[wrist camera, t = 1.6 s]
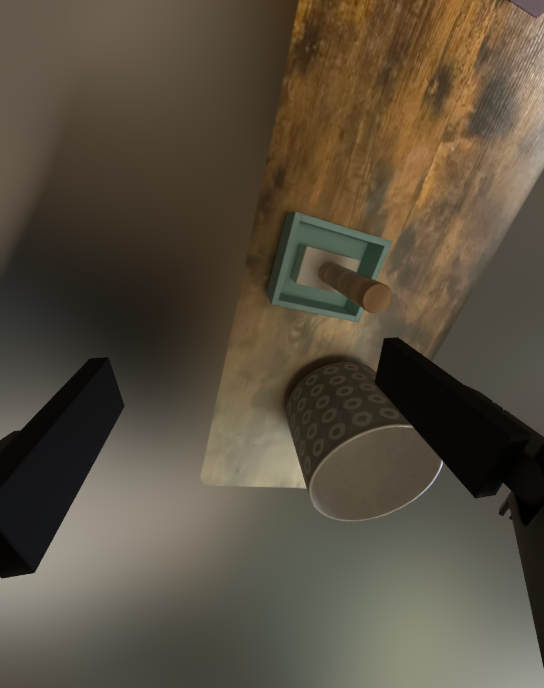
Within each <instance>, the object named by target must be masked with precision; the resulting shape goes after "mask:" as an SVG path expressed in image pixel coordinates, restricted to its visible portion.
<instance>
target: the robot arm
mask: <svg viewBox="0 0 544 688" xmlns="http://www.w3.org/2000/svg"><path fill="white" fill-rule="evenodd" d="M374 383H375V384H376V385H377V386H378V388H379V389H380V390H381V391H382V392H383V393H384V394H385V396H386V397H387V398H388V399H389V400H390V401H391V402H392V404H393V405H394V406H395V407H396V408H397V409H398V410H399V412H400V413H401V414H402V415H403V416H404V417H405V418H406V420H407V421H408V422H409V423H410V424H411V425H412V426H413V428H414V429H415V430H416V431H417V432H418V433H419V434H420V436H421V437H422V438H423V439H424V440H425V441H426V443H427V444H428V445H429V446H430V447H431V448H432V449H433V451H434V452H435V453H436V454H437V455H438V456H439V457H440V459H441V460H442V461H443V462H444V463H445V464H446V465H447V467H448V468H449V469H450V470H451V471H452V472H453V473H454V475H455V476H456V477H457V478H458V479H459V480H460V481H461V483H462V484H463V485H464V486H465V487H466V488H467V489H468V491H469V492H470V493H471V494H472V495H473V496H474V497H475V498H480V497H486V496H492V495H496V493H497V491H498V490H499V488H500V487H501V485H502V483H504V484H505V485H506V486H507V487H508V488H509V489H510V490H511V492H510V494H509V495H508V497H507V498H506V500H505V501H504V503H503V504H502V506H501V507H500V509H499V514H500V515H502V516H503V515H504V514H505V512H506V511H507V510H508V509H510V510H511V516H510V519H511V520H513V525H514V529H515V534H516V539H517V544H518V549H519V553H520V558H521V563H522V567H523V572H524V577H525V582H526V586H527V591H528V595H529V601H530V605H531V610H532V615H533V620H534V624H535V629H536V634H537V639H538V643H539V648H540V652H541V658H542V662H543V667H544V437H543V436H542V435H540V434H539V433H537V432H536V431H534V430H533V429H532V428H530V427H529V426H527V425H526V424H524V423H523V422H522V421H520V420H519V419H517V418H516V417H514V416H513V415H512V414H510V413H509V412H507V411H506V410H503V408H502V407H500V406H499V405H497V404H496V403H493V402H492V400H490V399H489V398H488V397H486V396H485V395H483V394H482V393H480V392H479V391H476V390H474V389H472V388H470V387H468V386H466V385H463V384H462V383H460V382H459V381H457V380H456V379H455V378H453V377H452V376H451V375H449V374H448V373H447V372H445V371H444V370H442V369H441V368H439V367H438V366H437V365H435V364H434V363H433V362H431V361H430V360H429V359H427V358H426V357H424V356H423V355H422V354H420V353H419V352H417V351H416V350H415V349H413V348H412V347H410V346H409V345H408V344H406V343H405V342H404V341H402V340H401V339H399V338H398V337H397V338H384V341H383V346H382V351H381V355H380V360H379V364H378V369H377V373H376V378H375V382H374ZM123 408H124V404H123V400H122V397H121V394H120V391H119V388H118V385H117V382H116V379H115V376H114V372H113V369H112V366H111V363H110V360H109V358H107V357H106V358H92V359H89V360H88V361H87V362H86V363H85V364H84V365H83V367H81V368H80V369H79V370H78V371H77V372H76V373H75V375H74V376H73V377H72V378H71V379H70V380H69V381H68V382H67V383H66V384H65V385H64V386H63V387H62V388H61V389H60V390H59V391H58V392H57V393H56V394H55V395H54V396H53V397H52V399H51V400H50V401H49V402H48V403H47V404H46V405H45V406H44V407H43V408H42V409H41V410H40V411H39V412H38V413H37V414H36V415H35V416H34V417H33V418H32V419H31V421H29V422H28V423H27V425H26V426H25V427H24V428H23V429H22V430H21V431H13V432H12V433H11V434H9V435H7V436H6V437H4V438H3V439H2V440H0V577H1V578H7V577H13V576H19V575H25V574H31V573H35V571H36V569H37V567H38V566H39V564H40V562H41V560H42V558H43V556H44V554H45V553H46V551H47V549H48V547H49V545H50V543H51V542H52V540H53V538H54V536H55V534H56V532H57V530H58V529H59V527H60V525H61V523H62V521H63V519H64V517H65V516H66V514H67V512H68V510H69V508H70V506H71V504H72V503H73V501H74V499H75V497H76V495H77V493H78V492H79V490H80V488H81V486H82V484H83V482H84V480H85V479H86V477H87V475H88V473H89V471H90V469H91V467H92V466H93V464H94V462H95V460H96V458H97V456H98V454H99V453H100V451H101V449H102V447H103V445H104V443H105V441H106V440H107V438H108V436H109V434H110V432H111V430H112V428H113V427H114V425H115V423H116V421H117V419H118V417H119V415H120V414H121V412H122V410H123Z"/></svg>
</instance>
